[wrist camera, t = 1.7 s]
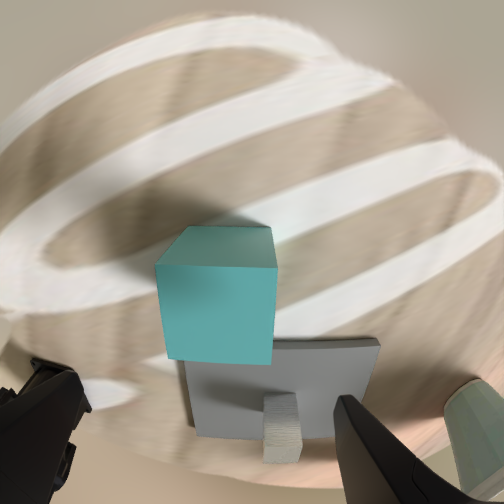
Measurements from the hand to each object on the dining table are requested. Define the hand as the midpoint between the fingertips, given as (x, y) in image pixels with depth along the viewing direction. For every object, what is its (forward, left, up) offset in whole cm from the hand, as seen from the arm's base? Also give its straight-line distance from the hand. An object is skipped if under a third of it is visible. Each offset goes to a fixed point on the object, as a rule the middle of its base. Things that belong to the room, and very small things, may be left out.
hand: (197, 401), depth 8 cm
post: (+4, -12, -12) cm, 17 cm away
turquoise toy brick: (0, 0, -12) cm, 12 cm away
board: (+4, -12, -12) cm, 17 cm away
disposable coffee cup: (+27, -17, -12) cm, 34 cm away
